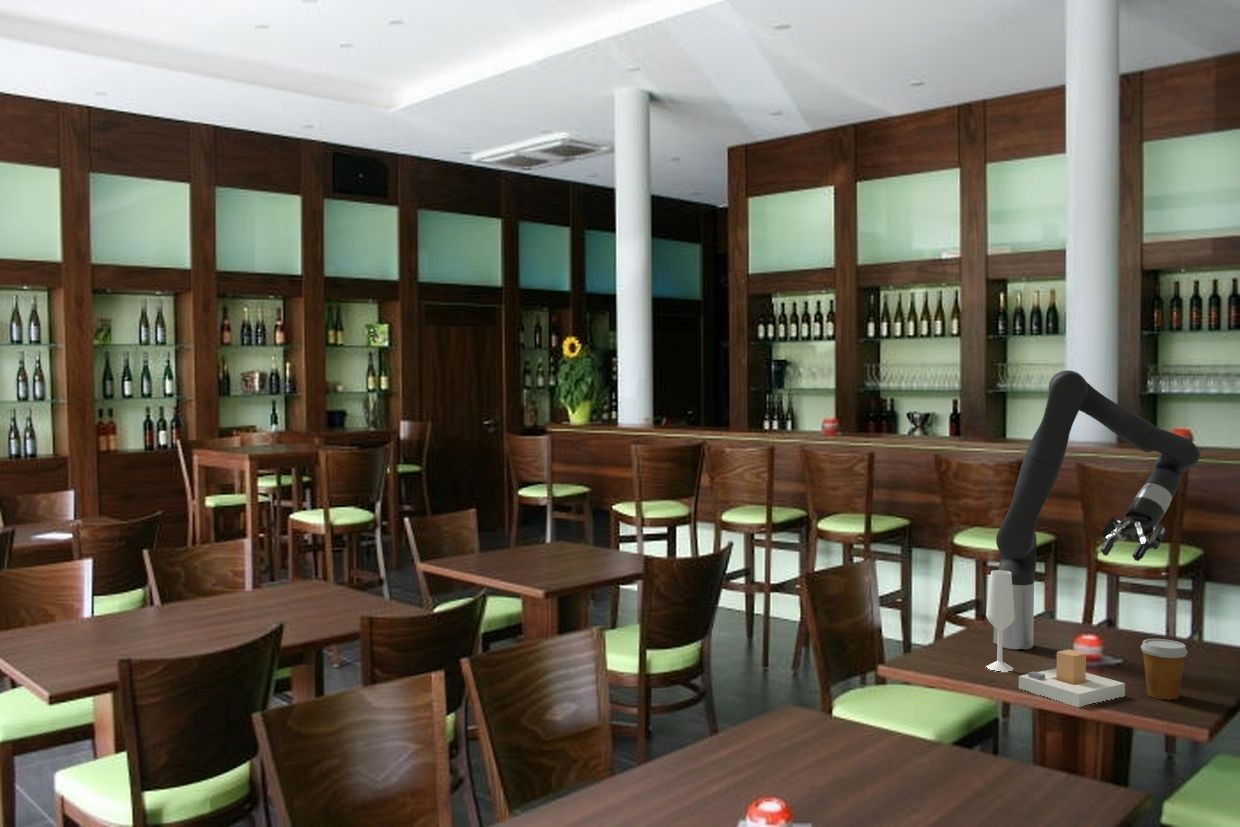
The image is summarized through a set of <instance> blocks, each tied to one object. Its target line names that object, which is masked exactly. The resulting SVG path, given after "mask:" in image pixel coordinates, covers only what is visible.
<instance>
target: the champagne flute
mask: <svg viewBox="0 0 1240 827" xmlns="http://www.w3.org/2000/svg"><path fill="white" fill-rule="evenodd" d="M985 616H986V618H987V621H988V622H989V623H990V625H992V626H993V628H994V627H995V628H996V629H998V645H997V655H996V656H997V658H996V659H997V660H996V661H994V662H992V663H990V664H988V665H986V666H985V668H986V667H987V668H988V669H990V670H989V671H991V670H995V671H994V672H996V671H1001V672H1000V673H1009V672H1008V671H1012V670H1013V669H1014V667H1012V666H1011V665H1009V664H1007V663H1006V662H1005V661H1003V630H1004V629H1006V628H1007V627H1008V626H1009V625H1010V624H1011V623H1012V622H1013V621H1014V619H1015V611H1014V599H1013V587H1012V575H1011V572H1009V571H1002V570H998V569H997V570H996V569H995V570H991V571H990V577H989V587H988V597H987V604H986V613H985ZM988 669H987V670H988ZM1012 672H1013V671H1012Z"/></svg>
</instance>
